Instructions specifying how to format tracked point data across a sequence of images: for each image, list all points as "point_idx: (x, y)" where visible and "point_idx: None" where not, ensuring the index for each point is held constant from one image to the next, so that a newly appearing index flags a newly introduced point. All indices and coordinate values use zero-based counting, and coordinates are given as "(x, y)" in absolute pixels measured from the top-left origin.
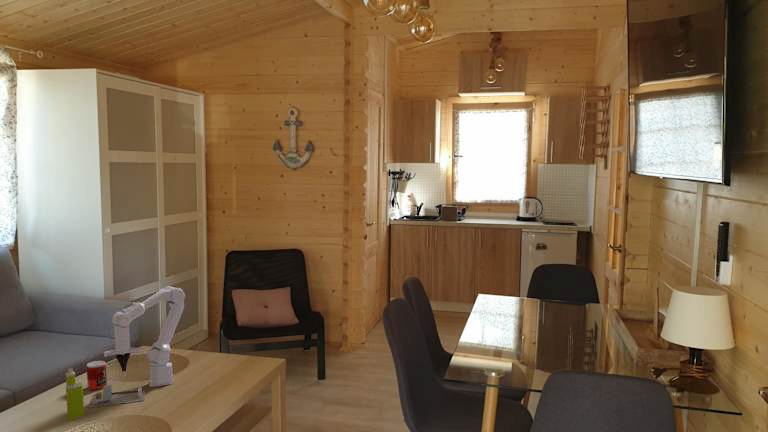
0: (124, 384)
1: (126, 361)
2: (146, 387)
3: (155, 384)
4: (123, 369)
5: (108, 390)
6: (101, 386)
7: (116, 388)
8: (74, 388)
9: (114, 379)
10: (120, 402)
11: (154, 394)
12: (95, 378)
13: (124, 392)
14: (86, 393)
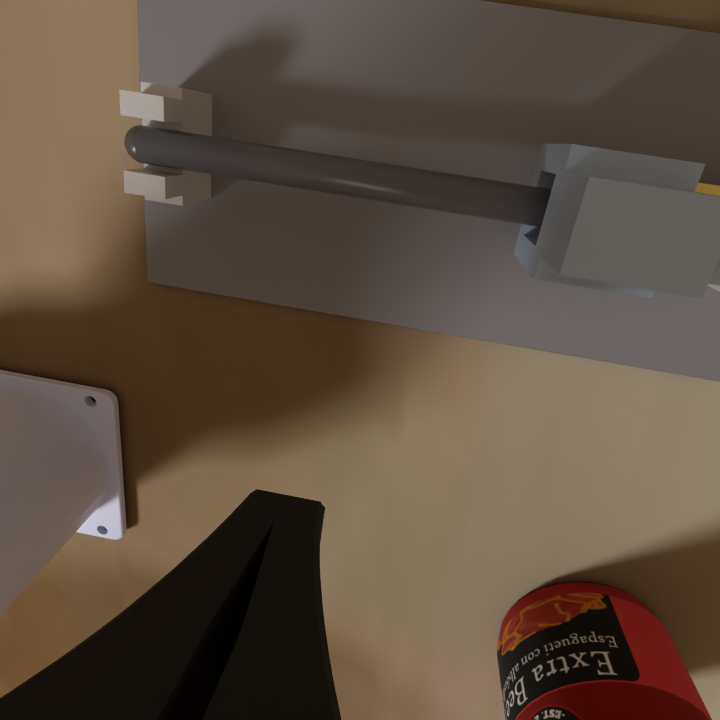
0: (349, 580)
1: (43, 698)
2: (151, 407)
3: (55, 402)
4: (282, 523)
5: (617, 179)
6: (563, 604)
7: (426, 531)
8: None
9: (419, 711)
10: (436, 38)
11: (41, 146)
12: (661, 706)
13: (362, 162)
14: (710, 560)
